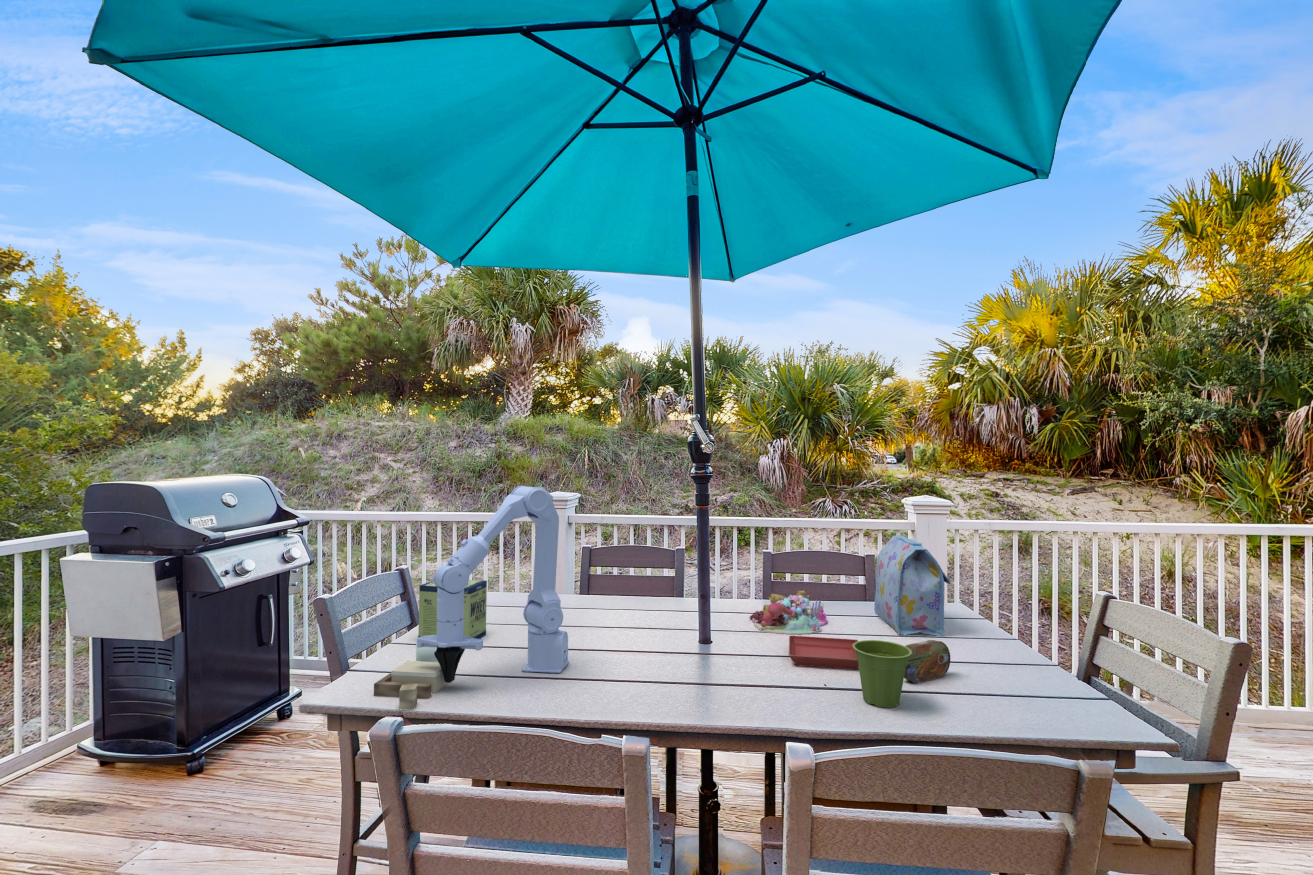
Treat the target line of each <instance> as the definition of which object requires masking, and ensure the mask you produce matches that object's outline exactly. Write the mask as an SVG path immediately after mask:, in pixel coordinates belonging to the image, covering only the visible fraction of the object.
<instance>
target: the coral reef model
mask: <svg viewBox="0 0 1313 875" xmlns="http://www.w3.org/2000/svg"><path fill="white" fill-rule="evenodd" d="M768 599H769V602H770V604H763V608H762V610H756V611H755V612H753V613H752V614H751V615H750V616H749V619H750V620H751V621H752V623H754V627H755V628H756V629H757V630H758V631H760V632H764V633H768V634H774V635H786V636H787V635H789V636H805V635H806V636H807V635H809V636H810V635H812V634H817V633H821V632H822V627H824V626H826V625H827V624H828V623H829V622H828V620H827V615H826V612H824V611H825V610H824V602H822V601H821V600H818V599H816V600H815V603H814V602H812V606H811V604H810V594H808V595H806V591H805V590H797V591H796V595H794V594H793V595H792V594H789V596H784V595H781V594H777V593H771V594H770V595H769V596H768Z"/></svg>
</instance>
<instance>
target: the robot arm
mask: <svg viewBox="0 0 1313 875" xmlns="http://www.w3.org/2000/svg"><path fill="white" fill-rule="evenodd" d="M553 501H554V496H553V495H552V494H551V493H550V492H549V491H548V490H547V489H545V488H544V487H540V486H536V487H535V486H534V487H533V486H527V485H518V486H516V487H515V488H513V490H512V491H511V493H509V494H508V495H507V496H506V497H505V498H504V500H503V502H502V504H500V506H499V508H498V509H497V510H496V511H495V513H494V514H493V515H492V517H491V518H490V519H489V521H487V523H486V524H485V525H484V526H483V528H482V529H481V531H480V532H479V533H478V534H477V535H473V536H468V538H467V539H466V538H464V539H463V540H462V541H461V542H460V544H461V546H460V547H459V548H458V549H457V551H456V552H455V553H454V554H453V555H452V556H451V557H449V556H448V558H447V559H446V562H447V563H444V564H441V565H440V566H438V568H437V569H436V571H435V573H434V574H435V575H434V576H433V577H432V581H434V583H435V585H436V586H437V587H438V588H437V636H429V637H420V638H418V637H417V638H418V639H417V638H416V639H417V648H422V647H437V649H436V651H435V652H434V655H435V657H436V659H437V660H438V662H439V664H440V666H441V669H442V672H443V676H444V681H445V682H447V684H448V683H449V684H450V683H452V682H453V681H454V680H455V677H456V674H457V670H458V666H459V663H460V660H461V658H462V656H463V654H464V652H465V650H475V651H481V650H482V649H483V648H484V639H483V638H480V639H476V638H470V637H465V636H464V588H465V587H466V586H467V585H468V582H469V580H470V575H472V574H473V572H474V571H475V570H476V569H477V567H478V566H479V565H480V564H481V563H482V562H483V560H484V559H485V558H486V557H487V556H488V555H489V554H490V544H491V543H492V542H493V541H495V539H496V538H497V537H498V536H499V535H500V534H501V533H502V532H503V530H505V529H506V527H507V526H508V525H509V524H510V523H511V522H512V521H513V520H516V519H521V518H525V517H528V519H530V520H531V521H532V522H533V523H534V524H535V526H536V528H535V547H534V563H533V564H534V565H533V577H532V578H533V579H532V580H533V583H532V590H531V591H530V592H529V593H528V595H527V602H526V604H525V606H524V608H523V612H522V613H523V619H524V620H525V622H526V623H527V663H526V665H524V666H523V667H522V669H521V671H522V672H533V673H551V674H552V673H553V674H554V673H555V674H560V673H562V672H563V671H564V670H565V668H566V666H568V665H569V663H570V661H569V637H568V636H569V634H568V631H566V630H561V629H559V628H560V627H561V626H562V624H563V622H564V613H563V611H562V607H561V601H562V600H561V599H560V597H559V595H558V593H557V591H556V582H557V580H556V579H557V569H558V568H557V566H558V565H557V564H558V547H559V546H558V545H559V531H560V530H559V528H560V526H559V525H560V517H559V514H558V511H557V509H556V507H555V506H556V505H555V504H554V502H553Z"/></svg>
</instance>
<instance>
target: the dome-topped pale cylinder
mask: <svg viewBox="0 0 1313 875" xmlns="http://www.w3.org/2000/svg"><path fill="white" fill-rule="evenodd" d="M429 636H437V635H427V636H422V637H429ZM419 638H420V637H419ZM417 639H418V637H417V638H416V639H415V643H416V644H415V648H416V649H415V661H422V662H438V660H437V659H436V657H435V655H434V652H435V651H436V649H437V647H422V648H417Z"/></svg>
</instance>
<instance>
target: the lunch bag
mask: <svg viewBox="0 0 1313 875" xmlns="http://www.w3.org/2000/svg"><path fill="white" fill-rule="evenodd" d="M875 565H876V568H875V569H876V571H875V572H876V574H875V576H876V581H875V592H874V593H875V594H874V605H873V606H874V609H873V610H874V614H875V615H876V616H878V617H879V618H880V619H882V620H883V621H884V622H885V623H886V624H887V625H889V627H891V628H893V629H894V631H896V633H897V634H898V635H903V636H907V635H911V634H917V633H918V634H922V635H923V634H924V635H931V636H932V635H933V636H936V637H943V636H944V635H945V634H944V633H945V583H946V584H947V585H951V581H950V579H949V578H948V577H947V575H946V573H945V572H944V570H943V569H942V567H941V565H940V564H939V562H938V560H937V559H936V558H935V557H934V556H933V555H932V553H930V551H929V550H928V549H927V548H925V547H923V543H922V542H917V541H916V540H914V539H913V538H909V537H907V536H904V535H903V534H900V535H899V534H898V535H896V534H895V535H893V536H891V538H890V539H889V540H888V541H887V543H885V545H884V546H883V547H882V549H881V550H880V551H879V553H878V555H877V558H876V564H875Z"/></svg>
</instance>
